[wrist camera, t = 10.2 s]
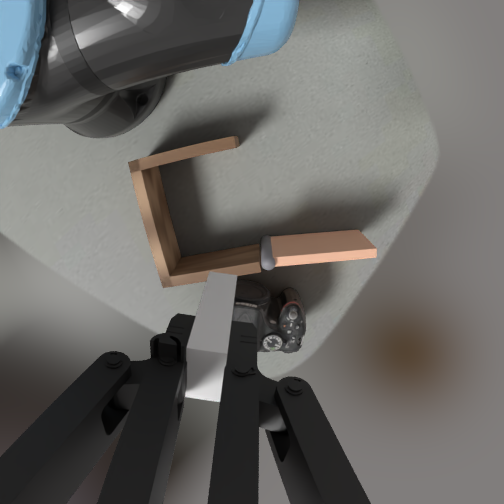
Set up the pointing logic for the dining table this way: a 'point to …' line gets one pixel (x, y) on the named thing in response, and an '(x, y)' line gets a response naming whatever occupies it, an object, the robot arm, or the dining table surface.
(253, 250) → the frame
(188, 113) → the dining table surface
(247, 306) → the camera
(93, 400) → the robot arm
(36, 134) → the dining table surface
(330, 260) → the hatch
